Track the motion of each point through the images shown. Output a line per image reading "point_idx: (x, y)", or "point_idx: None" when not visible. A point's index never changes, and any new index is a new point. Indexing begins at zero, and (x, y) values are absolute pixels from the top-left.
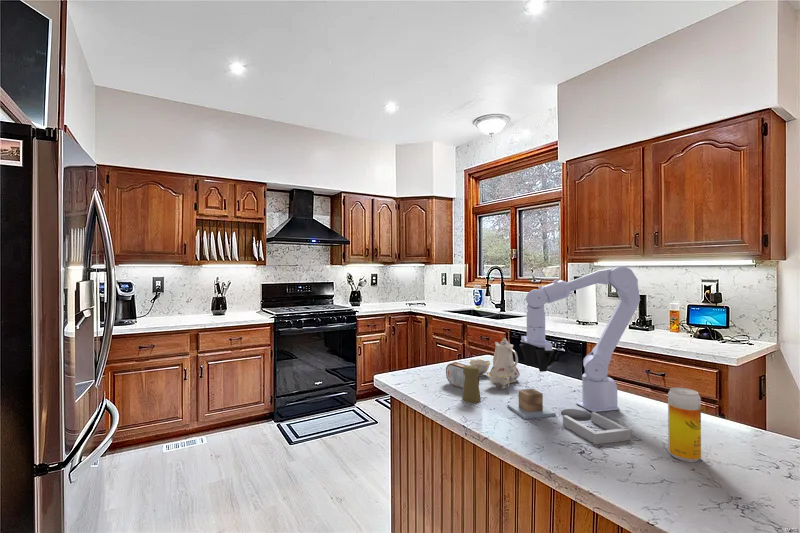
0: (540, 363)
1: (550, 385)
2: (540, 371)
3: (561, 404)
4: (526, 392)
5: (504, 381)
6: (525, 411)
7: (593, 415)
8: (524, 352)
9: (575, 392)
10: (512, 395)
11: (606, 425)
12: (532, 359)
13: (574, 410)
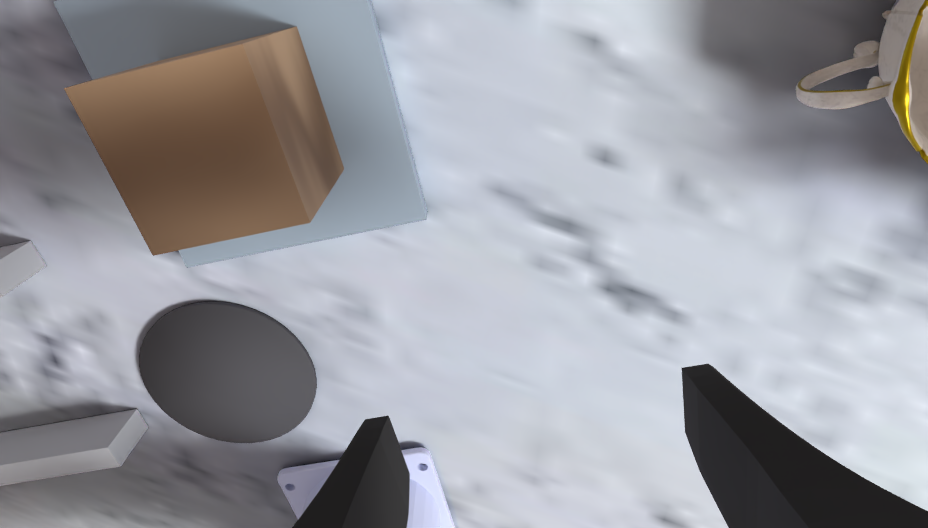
0: (311, 505)
1: (821, 445)
2: (368, 419)
3: (421, 369)
4: (161, 108)
5: (888, 67)
6: (174, 47)
7: (98, 440)
8: (798, 501)
9: (639, 516)
10: (666, 87)
11: (17, 442)
12: (719, 496)
13: (288, 394)
